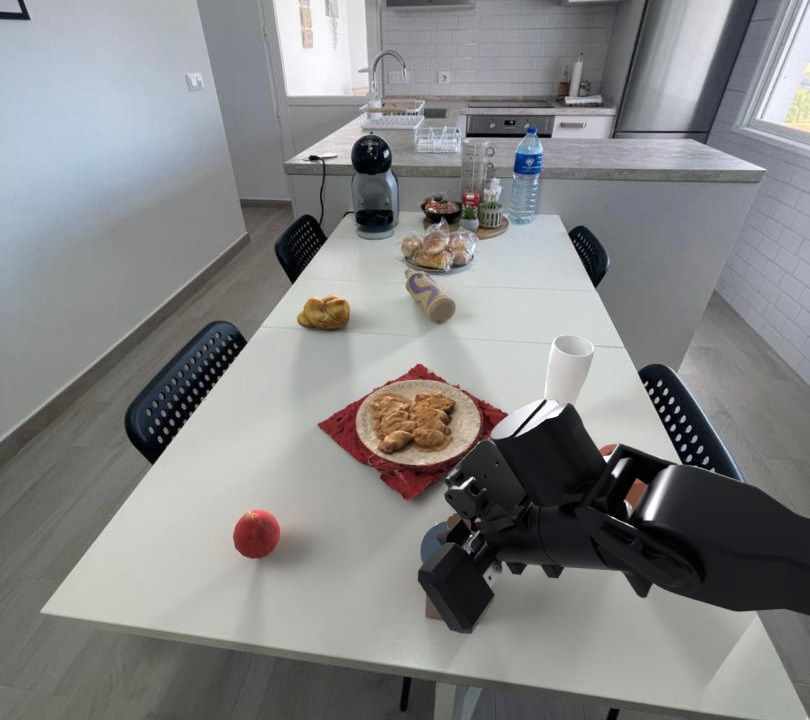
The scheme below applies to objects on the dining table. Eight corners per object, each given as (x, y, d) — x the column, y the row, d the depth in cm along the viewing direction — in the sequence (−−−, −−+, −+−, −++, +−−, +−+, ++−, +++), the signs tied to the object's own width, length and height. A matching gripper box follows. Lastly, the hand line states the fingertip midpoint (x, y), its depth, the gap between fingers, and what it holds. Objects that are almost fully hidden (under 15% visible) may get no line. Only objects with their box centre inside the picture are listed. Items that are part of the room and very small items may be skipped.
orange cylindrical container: (645, 503, 66) (663, 467, 61) (617, 529, 63) (634, 492, 58) (602, 472, 71) (616, 436, 66) (574, 495, 67) (586, 458, 63)
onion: (291, 536, 62) (282, 500, 57) (270, 575, 57) (258, 539, 53) (254, 526, 63) (242, 490, 59) (231, 564, 59) (216, 528, 54)
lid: (491, 527, 53) (496, 496, 49) (492, 595, 46) (499, 564, 43) (424, 519, 54) (424, 488, 50) (416, 584, 47) (416, 554, 44)
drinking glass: (579, 408, 83) (599, 341, 74) (569, 430, 78) (589, 361, 70) (543, 396, 86) (559, 330, 77) (532, 416, 81) (546, 348, 73)
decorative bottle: (456, 321, 109) (458, 296, 105) (428, 326, 107) (428, 302, 103) (421, 278, 129) (421, 256, 125) (396, 281, 127) (395, 259, 123)
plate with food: (512, 425, 80) (515, 410, 78) (408, 506, 65) (408, 490, 63) (419, 369, 94) (419, 355, 92) (316, 425, 80) (314, 410, 78)
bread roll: (295, 334, 105) (290, 304, 100) (302, 314, 112) (297, 285, 108) (350, 333, 105) (347, 303, 100) (353, 313, 113) (351, 284, 108)
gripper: (560, 390, 42) (457, 423, 54) (440, 523, 31) (344, 526, 43) (622, 489, 42) (506, 499, 55) (526, 656, 31) (406, 622, 43)
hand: (447, 530), depth 49 cm, fingers closed on lid, 2 cm apart
